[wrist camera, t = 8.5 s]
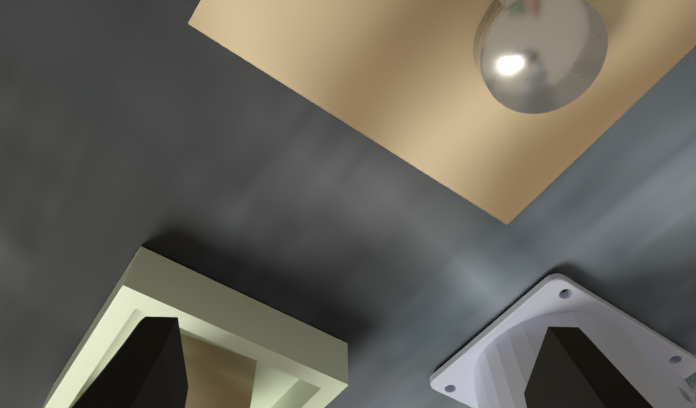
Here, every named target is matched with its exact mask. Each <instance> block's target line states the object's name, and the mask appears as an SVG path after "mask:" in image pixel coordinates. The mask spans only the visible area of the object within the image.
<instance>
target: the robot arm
mask: <svg viewBox="0 0 696 408" xmlns="http://www.w3.org/2000/svg"><path fill="white" fill-rule="evenodd" d="M564 289H567V290H566V291H564V292H561V291H562V290H564ZM695 372H696V357H695V356H694V355H692V354H691V353H689V352H688V351H686V350H684V349H683V348H681V347H679V346H678V345H676V344H675V343H673V342H671V341H670V340H668V339H667V338H665V337H663V336H662V335H660V334H658V333H657V332H655V331H654V330H652V329H650V328H649V327H647V326H645V325H644V324H642V323H641V322H639V321H637V320H636V319H634V318H633V317H631V316H629V315H628V314H626V313H624V312H623V311H621V310H620V309H618V308H616V307H615V306H613V305H611V304H610V303H608V302H607V301H605V300H603V299H602V298H600V297H599V296H597V295H595V294H594V293H592V292H590V291H589V290H587V289H586V288H584V287H582V286H581V285H579V284H577V283H576V282H574V281H573V280H571V279H569V278H568V277H566V276H565V275H562V274H560V273H554V274H551V275H549V276H547V277H545V278H544V279H543V280H542V281H541V282H540V283H538V284H537V285H536V286H535V287H534V288H533V289H531V290H530V291H529V292H528V293H527V294H526V295H524V296H523V297H522V298H521V299H520V300H519V301H517V302H516V303H515V304H514V305H513V306H512V307H510V308H509V309H508V310H507V311H506V312H505V313H503V314H502V315H501V316H500V317H499V318H498V319H496V320H495V321H494V322H493V323H492V324H491V325H489V326H488V327H487V328H486V329H485V330H484V331H482V332H481V333H480V334H479V335H478V336H477V337H475V338H474V339H473V340H472V341H471V342H470V343H468V344H467V345H466V346H465V347H464V348H463V349H461V350H460V351H459V352H458V353H457V354H456V355H454V356H453V357H452V358H451V359H450V360H449V361H447V362H446V363H445V364H444V365H443V366H442V367H440V368H439V369H438V370H437V371H436V372H435V373H433V374H432V375H431V377H430V384H431V387H432V388H433V389H434V390H436V391H438V392H440V393H443V394H445V395H447V396H449V397H451V398H453V399H455V400H458V401H460V402H462V403H464V404H466V405H468V406H470V407H473V408H696V397H695V395H694V393H693V392H692V390H691V389H690V387H689V385H688V384H687V382H686V381H685V379H686V378H687V377H689V376H690V375H692V374H693V373H695ZM188 387H189V386H188V380H187V374H186V367H185V361H184V354H183V348H182V341H181V335H180V328H179V322H178V317H150V316H145V317H144V318H143V319H142V320H140V322H139V323H138V324H137V326H136V327H135V328H134V330H133V331H132V332H131V334H130V335H129V336H128V338H127V339H126V340H125V342H124V343H123V344H122V346H121V347H120V348H119V350H118V351H117V352H116V354H115V355H114V356H113V357H112V359H111V360H110V361H109V363H108V364H107V365H106V366H105V368H104V369H103V370H102V371H101V373H100V374H99V375H98V376H97V378H96V379H95V380H94V381H93V382H92V384H91V385H90V386H89V387H88V388H87V390H86V391H85V392H84V393H83V394H82V395H81V397H80V398H79V399H78V400H77V401H76V403H75V404H74V405H73V406H72V407H71V408H185V404H186V399H187V393H188Z"/></svg>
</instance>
